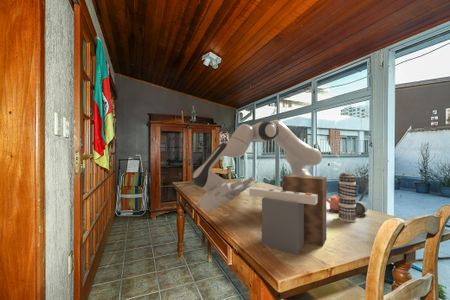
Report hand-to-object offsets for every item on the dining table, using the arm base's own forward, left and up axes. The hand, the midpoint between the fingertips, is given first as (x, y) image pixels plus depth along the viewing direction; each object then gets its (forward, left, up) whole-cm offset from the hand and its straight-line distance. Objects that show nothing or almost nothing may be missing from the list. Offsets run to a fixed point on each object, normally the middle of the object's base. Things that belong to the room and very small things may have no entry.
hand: (248, 179), depth 90 cm
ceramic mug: (-1, +74, -25) cm, 78 cm away
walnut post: (+12, +21, -24) cm, 34 cm away
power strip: (+13, +7, -6) cm, 16 cm away
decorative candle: (+3, +60, -25) cm, 65 cm away
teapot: (-11, +71, -25) cm, 76 cm away
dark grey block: (+13, +8, -24) cm, 29 cm away
